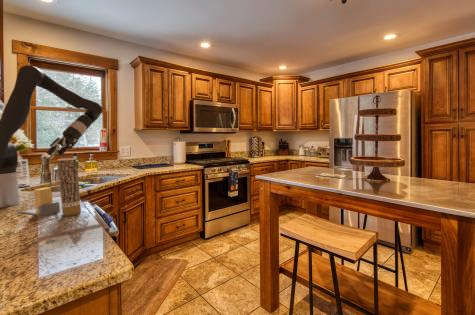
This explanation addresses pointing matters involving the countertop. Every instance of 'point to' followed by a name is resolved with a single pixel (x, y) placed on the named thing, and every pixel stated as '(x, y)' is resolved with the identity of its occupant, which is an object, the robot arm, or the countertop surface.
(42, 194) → the keeper
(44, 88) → the robot arm
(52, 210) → the track
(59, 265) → the countertop surface
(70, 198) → the brown bark pillar
